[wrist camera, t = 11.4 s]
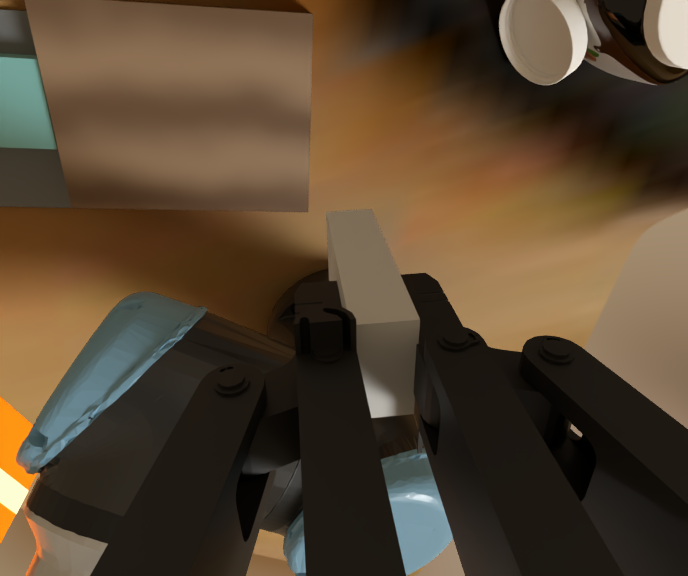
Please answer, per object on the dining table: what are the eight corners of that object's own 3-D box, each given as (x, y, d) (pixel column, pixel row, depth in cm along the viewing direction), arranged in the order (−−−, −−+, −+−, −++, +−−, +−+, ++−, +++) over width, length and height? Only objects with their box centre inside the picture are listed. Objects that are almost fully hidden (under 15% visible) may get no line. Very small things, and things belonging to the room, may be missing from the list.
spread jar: (680, 1, 38) (824, 2, 28) (568, 125, 42) (659, 165, 32) (584, -123, 33) (714, -175, 23) (468, 29, 37) (537, 41, 27)
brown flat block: (306, 199, 42) (308, 212, 40) (85, 194, 40) (71, 207, 38) (310, 12, 35) (313, 14, 33) (43, -5, 33) (23, -6, 31)
